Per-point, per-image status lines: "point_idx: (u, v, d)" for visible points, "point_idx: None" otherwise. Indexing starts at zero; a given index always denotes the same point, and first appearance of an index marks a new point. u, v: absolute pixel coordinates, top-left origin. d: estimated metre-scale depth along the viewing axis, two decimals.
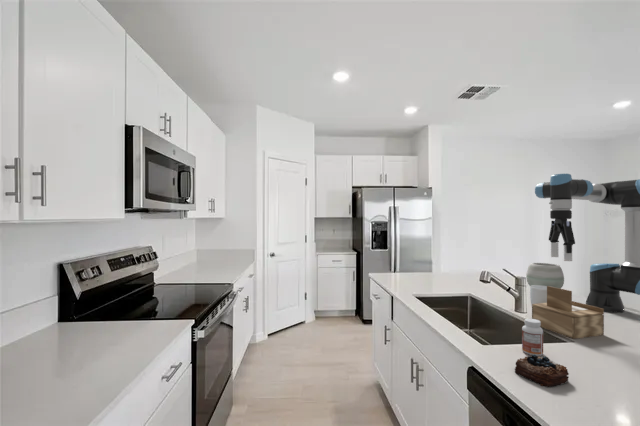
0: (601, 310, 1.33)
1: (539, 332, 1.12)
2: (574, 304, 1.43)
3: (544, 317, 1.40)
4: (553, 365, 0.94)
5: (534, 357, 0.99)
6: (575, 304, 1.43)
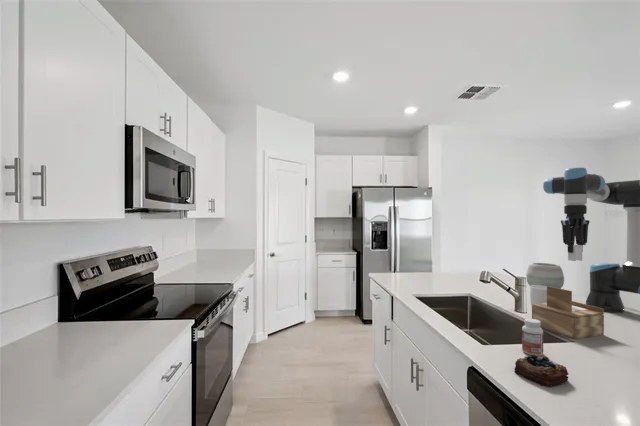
0: (601, 310, 1.33)
1: (539, 332, 1.12)
2: (574, 304, 1.43)
3: (544, 317, 1.40)
4: (553, 365, 0.94)
5: (534, 357, 0.99)
6: (575, 304, 1.43)
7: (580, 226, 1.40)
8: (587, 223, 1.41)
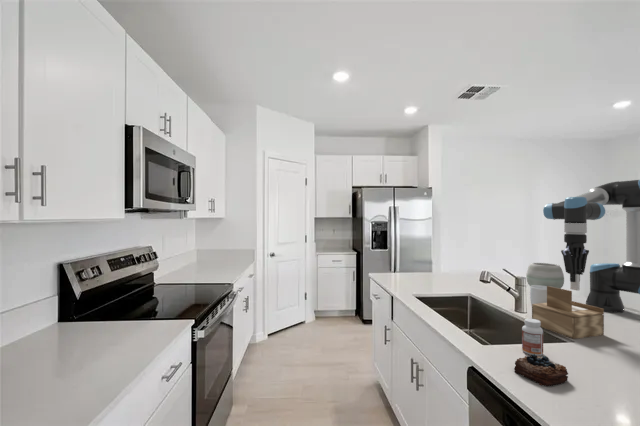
0: (601, 310, 1.33)
1: (539, 332, 1.12)
2: (574, 304, 1.43)
3: (544, 317, 1.40)
4: (552, 365, 0.94)
5: (533, 357, 0.99)
6: (575, 304, 1.43)
7: (579, 255, 1.40)
8: (586, 253, 1.41)
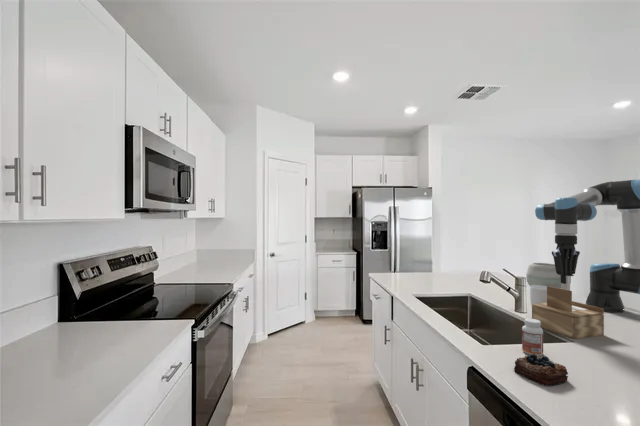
0: (601, 310, 1.33)
1: (539, 332, 1.12)
2: (574, 304, 1.43)
3: (544, 317, 1.40)
4: (552, 364, 0.95)
5: (533, 356, 0.99)
6: (575, 304, 1.43)
7: (570, 256, 1.38)
8: (577, 254, 1.40)
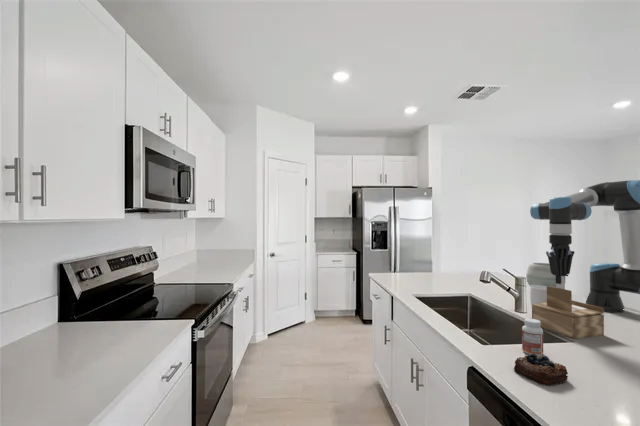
0: (601, 309, 1.33)
1: (539, 332, 1.12)
2: (574, 303, 1.43)
3: (544, 317, 1.40)
4: (552, 364, 0.95)
5: (533, 356, 1.00)
6: (575, 303, 1.43)
7: (564, 256, 1.37)
8: (572, 254, 1.39)
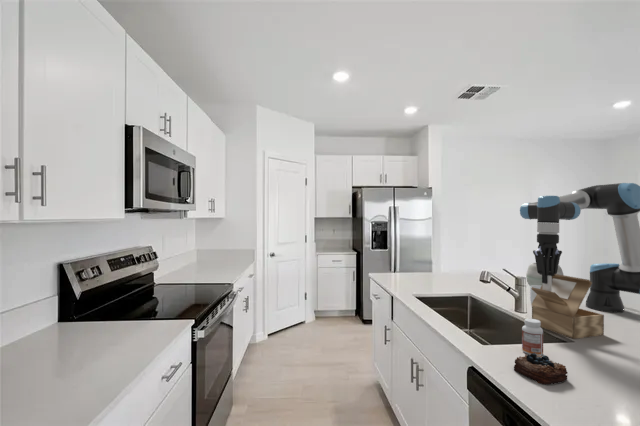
0: (588, 281, 1.31)
1: (539, 332, 1.12)
2: (562, 277, 1.41)
3: (544, 317, 1.40)
4: (551, 363, 0.95)
5: (533, 355, 1.00)
6: (563, 277, 1.41)
7: (552, 256, 1.35)
8: (559, 253, 1.37)
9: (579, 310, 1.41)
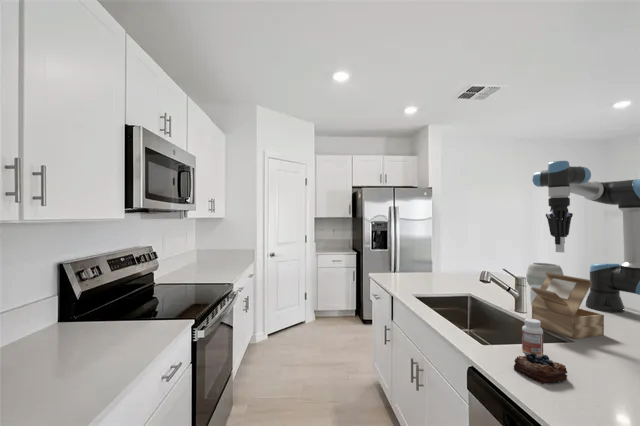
0: (588, 281, 1.31)
1: (539, 332, 1.12)
2: (562, 277, 1.41)
3: (544, 317, 1.40)
4: (551, 363, 0.96)
5: (533, 355, 1.00)
6: (563, 277, 1.41)
7: (563, 218, 1.43)
8: (570, 216, 1.44)
9: (579, 310, 1.41)
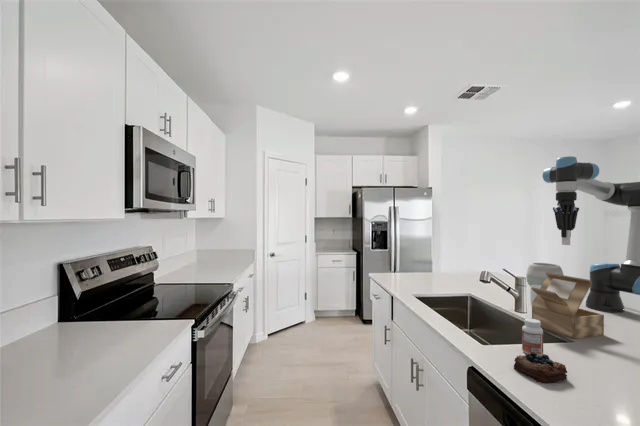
0: (588, 281, 1.31)
1: (539, 332, 1.12)
2: (562, 277, 1.41)
3: (544, 317, 1.40)
4: (550, 362, 0.96)
5: (533, 354, 1.01)
6: (563, 277, 1.41)
7: (570, 212, 1.48)
8: (577, 210, 1.49)
9: (579, 310, 1.41)
